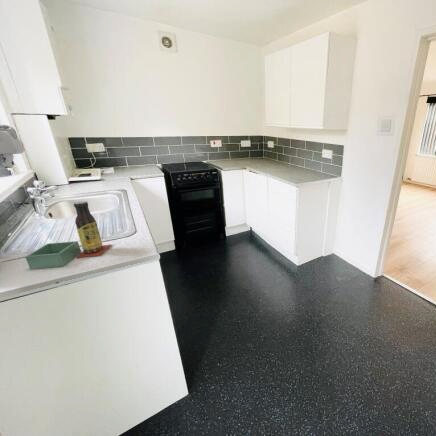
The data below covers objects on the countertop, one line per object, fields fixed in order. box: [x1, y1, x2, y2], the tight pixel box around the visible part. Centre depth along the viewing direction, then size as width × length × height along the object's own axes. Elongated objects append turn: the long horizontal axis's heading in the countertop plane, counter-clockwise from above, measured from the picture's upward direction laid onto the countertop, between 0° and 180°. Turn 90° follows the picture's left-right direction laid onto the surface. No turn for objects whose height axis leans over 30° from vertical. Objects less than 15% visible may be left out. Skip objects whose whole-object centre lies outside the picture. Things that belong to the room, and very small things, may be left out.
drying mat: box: [76, 244, 112, 259], centre depth 98 cm, size 8×9×1 cm
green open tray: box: [24, 240, 82, 270], centre depth 91 cm, size 10×11×5 cm
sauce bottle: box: [73, 200, 103, 253], centre depth 94 cm, size 6×6×20 cm
